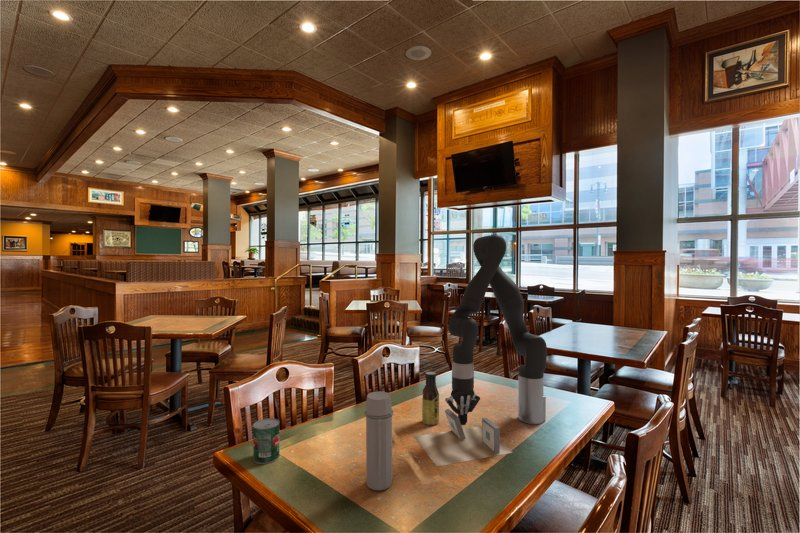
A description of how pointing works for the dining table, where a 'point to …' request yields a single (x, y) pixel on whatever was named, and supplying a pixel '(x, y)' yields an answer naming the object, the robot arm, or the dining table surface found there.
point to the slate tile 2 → (491, 435)
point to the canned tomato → (266, 441)
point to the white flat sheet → (457, 446)
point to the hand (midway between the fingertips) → (462, 424)
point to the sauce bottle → (430, 401)
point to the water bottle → (379, 440)
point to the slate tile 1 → (455, 424)
